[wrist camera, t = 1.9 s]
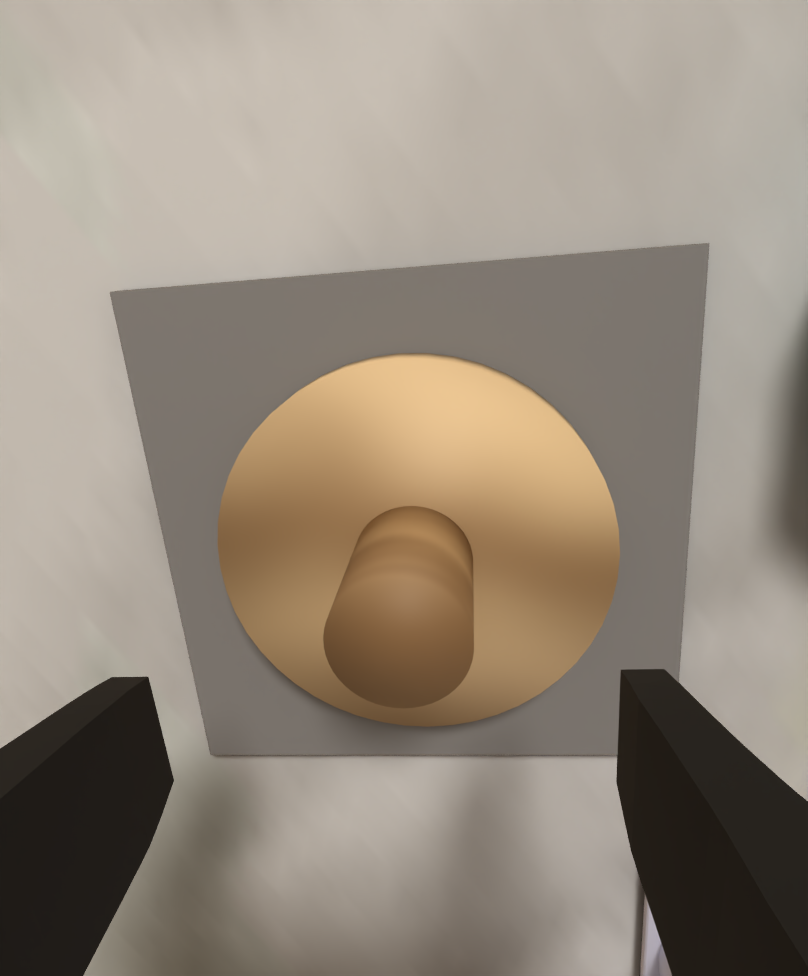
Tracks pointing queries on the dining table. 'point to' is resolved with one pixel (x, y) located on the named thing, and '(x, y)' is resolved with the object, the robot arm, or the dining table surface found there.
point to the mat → (445, 331)
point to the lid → (419, 540)
